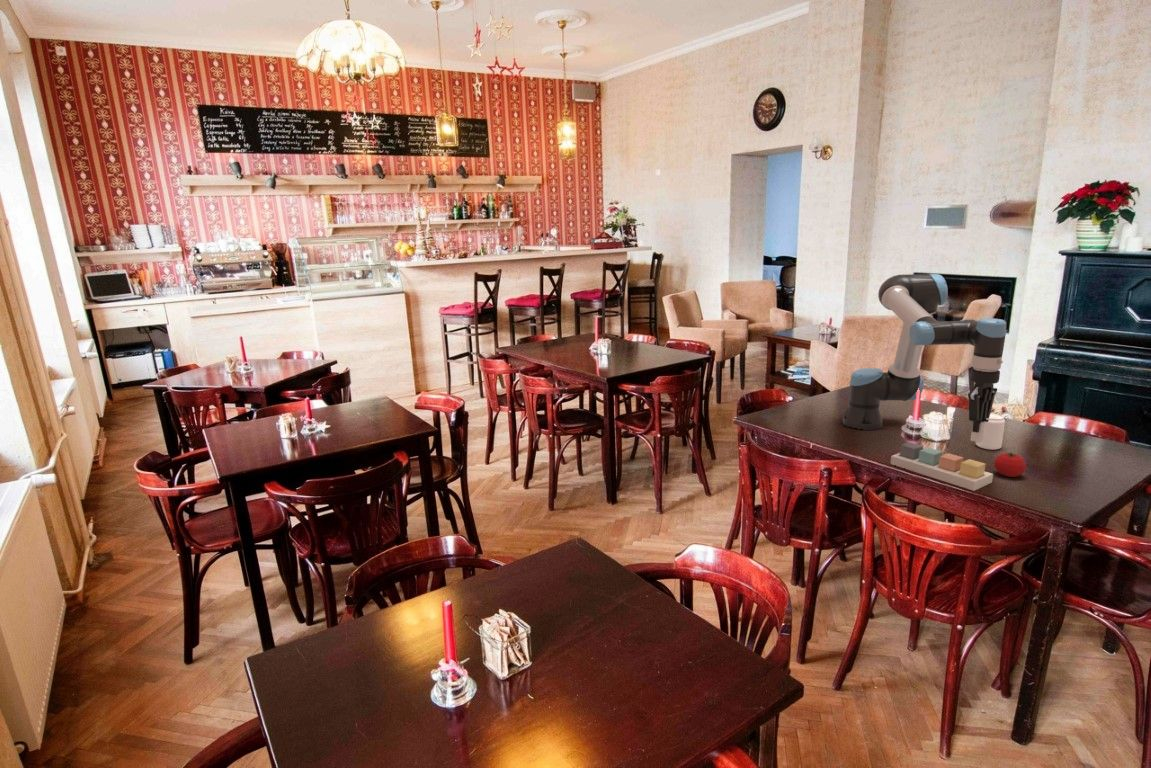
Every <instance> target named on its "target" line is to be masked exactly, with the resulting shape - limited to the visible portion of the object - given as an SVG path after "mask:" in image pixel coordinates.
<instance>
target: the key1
mask: <svg viewBox="0 0 1151 768" xmlns="http://www.w3.org/2000/svg"><path fill="white" fill-rule="evenodd" d="M923 449H924V445H921V444H918V443H915V442H909V441H908V442H905V443H901V445H900V451H899V453H900V456H902V457H906V458H909V459H912V460H915V459H918V458H919V454H920V450H923Z"/></svg>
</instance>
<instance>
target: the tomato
mask: <svg viewBox="0 0 1151 768" xmlns="http://www.w3.org/2000/svg"><path fill="white" fill-rule="evenodd" d="M1026 464H1027V463H1026V461H1025V460H1024V458H1023V457H1022V456H1020V455H1018V454H1015V453H1012V452H1003V453H1000V454H999V455H997V456H996V457H995V459H994V461H993V466H994V468H995V470H996V471H997V473H998V474H1000V475H1002V476H1005V477H1011V478H1012V477H1013V478H1015V477H1018V476H1022V474H1023V473H1025V471H1026V469H1027V465H1026Z"/></svg>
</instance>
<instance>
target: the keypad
mask: <svg viewBox="0 0 1151 768" xmlns="http://www.w3.org/2000/svg"><path fill="white" fill-rule="evenodd" d="M889 465H891V466H892V465H893V466H895V465H896V466H895V467H897V468H898V467H899V468H902V469H904V468H905V470H909V471H911V472H915V473H916V474H920V475H923V476H927V477H929V478H932V479H936V480H938V481H941V482H945V483H949V484H952V485H955V486H957V487H961V488H964V489H966V490H970V491H973V492H974V491H977V490H979V489H981V488H983V487H985V486H988V485H989V484H992V483H993V479H994V478H993V477H994V473H991V472H988V471H985V472H984V476H982V477H980V478H978V479H974V478H971V477H968V476H965V475H961V474H960V470H959V471H957V472H952V471H948V470H945V469H942V468H939V464H938V465H935V466H932V465H929V464H925V463H922V462H919V458H918V459H915V460H912V459H909V458H906V457H902V456H900V452H897V453H895V454H893V455H891V457H890V464H889Z"/></svg>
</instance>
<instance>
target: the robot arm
mask: <svg viewBox="0 0 1151 768" xmlns="http://www.w3.org/2000/svg"><path fill="white" fill-rule="evenodd" d="M948 289H949V288H948V285H947V281H946V280H945V278H944V276H942V275H941V274H938V273H917V274H916V273H915V274H896V275H893V276H891V277H889V278H887V279H886V280H884V282H882V284H881V285H880V287H879V289H878V293H877V296H878V300H879V302H880V304H881V305H882V306H883V308H885V310H889V311H892V312H893V313H894V314H895V315H896V316H897V317H898V318H899V319H900V320H901V322H902V326H901V331H900V335H899V340H898V343H897V344H898V345H897V348H896V352H895V358H894V359H893V360H894V362H893V363H892V364H890V365H889V366H888V369H887V371H886V372H883V370H882V369H880V368H876V367H875V368H874V367H873V368H872V367H867V368H860V369H856V370H854V371H853V372H852V373H851V376H850V380H849V397H848V406H847V408H846V410H845V413H844V415H843V418H842V424H843V425H844V426H845V425H846V426H845V427H848V426H849V427H848V428H850V427H852V428H851V429H854V428H857V429H856V430H860V429H863V430H862V431H875V430H879V429H882V428H883V418H882V413H881V409H880V403H881V401H884V402H888V401H902V402H907V401H908V402H909V401H914V400H917V399H916V392H917V390H918V388H919V390H920V395H921V394H922V392H923V389H924V377H923V375H922V373H921V371H920V369H919V368H918V366H919V363H920V358H921V354H922V351H923V346H937V345H938V346H940V345H943V346H944V345H947V346H948V345H949V346H950V345H971V346H973V355H972V360H971V361H972V362H971V367H972V369H970V370H971V371H970V377H969V379H970V380H971V381H972V382H974V385H973V389H972V390H973V391H972V392H968V394H967V396H968V397H967V398H968V421H970V422H972V425H971V426H972V427H971V433H970V441H972V442H975V443H976V442H979V443H980V442H982V439H983V431H984V424H985V422H988V421H989V420H987V418H989V417H990V413H992V412H991V411H992V408H993V404H994V402H995V401H994V400H995V397H996V394H997V392H998V388H997V387H994V386H995V385H994V384H998V383H999V381H1000V376H1001V371H1000V369H1001V367H1002V364H1003V363H1004V362H1003V353H1004V346H1005V342H1006V336H1007V322H1006V320H1004V319H1000V318H992V317H991V318H990V317H985V318H984V317H983V318H980V319H978V320H976V319H973V318H972V319H970V318H963V319H960V320H953V321H952V320H949V321H946V320H945V321H943V320H942V321H938V320H936V319H935V318H934V317H933V316H932V315H934V314H935V313H936V312H937V310H938V306H944V305H945V303H946V302H947V301H948V295H949V294H948V292H949V291H948ZM921 376H922V378H921ZM921 384H922V385H921ZM984 421H985V422H984Z"/></svg>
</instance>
